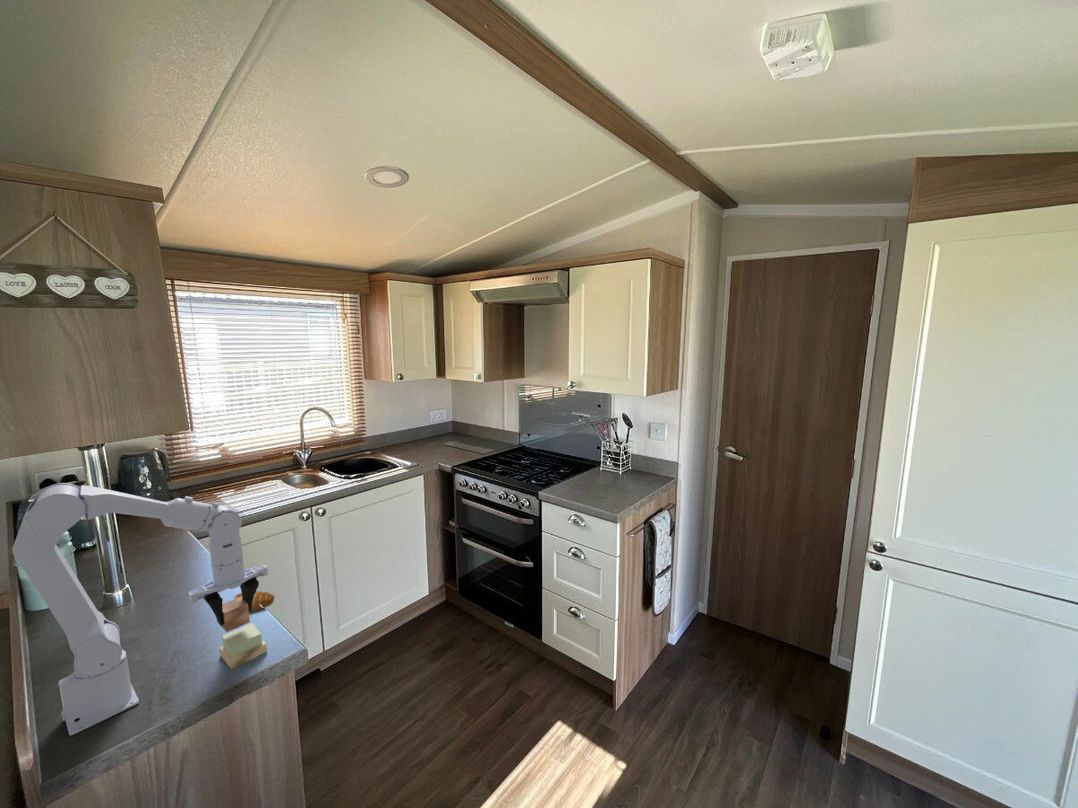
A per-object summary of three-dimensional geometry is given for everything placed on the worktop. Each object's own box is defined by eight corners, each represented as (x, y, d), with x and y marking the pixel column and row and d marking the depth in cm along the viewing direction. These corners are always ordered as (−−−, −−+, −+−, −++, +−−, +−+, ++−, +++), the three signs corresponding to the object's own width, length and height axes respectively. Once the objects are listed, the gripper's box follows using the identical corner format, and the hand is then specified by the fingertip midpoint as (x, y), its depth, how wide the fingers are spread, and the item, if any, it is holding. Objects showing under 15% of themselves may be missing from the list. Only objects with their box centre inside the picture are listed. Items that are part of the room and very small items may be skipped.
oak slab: (231, 671, 96) (230, 661, 96) (220, 657, 100) (219, 647, 100) (267, 653, 101) (266, 643, 101) (255, 641, 106) (254, 631, 105)
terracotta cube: (226, 632, 97) (224, 613, 97) (219, 624, 100) (217, 606, 99) (249, 622, 101) (247, 603, 100) (242, 615, 104) (240, 596, 103)
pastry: (278, 596, 124) (276, 584, 123) (269, 611, 117) (268, 597, 117) (240, 602, 122) (238, 589, 121) (229, 616, 115) (227, 603, 115)
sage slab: (231, 658, 96) (229, 647, 96) (223, 646, 100) (222, 635, 100) (262, 643, 101) (261, 633, 101) (253, 633, 105) (252, 623, 105)
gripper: (192, 579, 90) (201, 641, 92) (270, 552, 101) (276, 608, 103) (182, 569, 94) (190, 628, 96) (258, 544, 106) (264, 598, 108)
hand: (234, 617), depth 100 cm, fingers closed on terracotta cube, 4 cm apart
